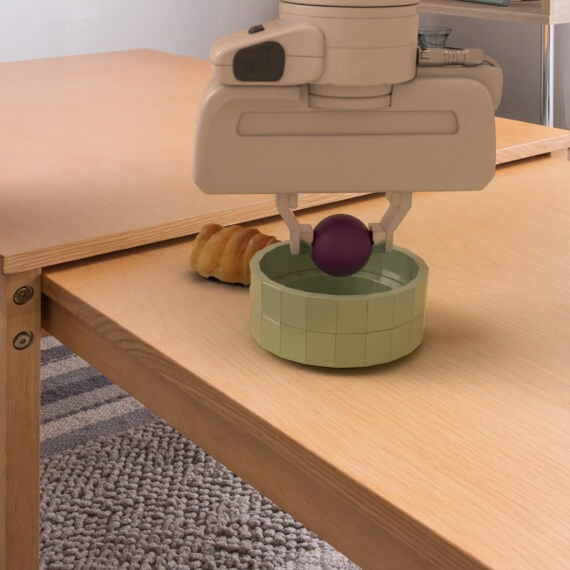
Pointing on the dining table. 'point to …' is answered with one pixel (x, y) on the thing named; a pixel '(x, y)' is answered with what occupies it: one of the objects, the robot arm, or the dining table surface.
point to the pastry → (227, 251)
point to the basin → (337, 308)
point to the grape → (341, 245)
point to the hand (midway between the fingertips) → (339, 251)
